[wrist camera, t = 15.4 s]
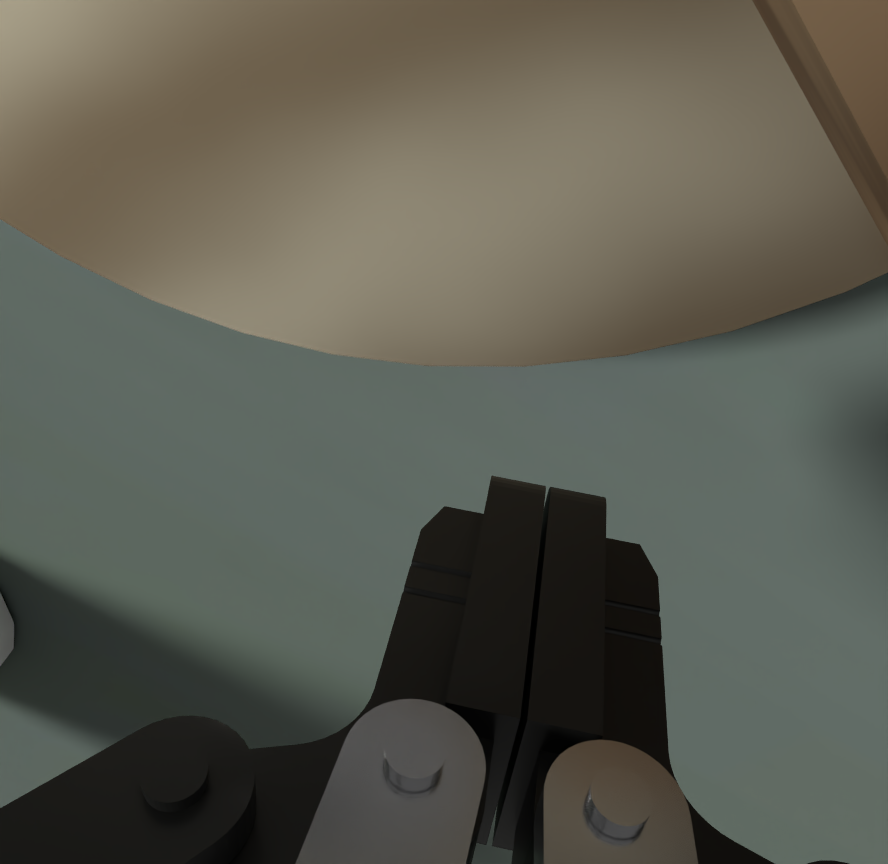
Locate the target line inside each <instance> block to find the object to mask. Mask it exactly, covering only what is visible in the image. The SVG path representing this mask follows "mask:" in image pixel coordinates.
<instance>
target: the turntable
mask: <svg viewBox="0 0 888 864" xmlns="http://www.w3.org/2000/svg"><path fill="white" fill-rule="evenodd" d="M0 219H1V220H3V221H4V222H6V223H7V224H9V225H11V226H12V227H14V228H16V229H17V230H19V231H21V232H22V233H24V234H25V235H27V236H29V237H30V238H32V239H34V240H35V241H37V242H38V243H40V244H42V245H43V246H45V247H47V248H48V249H50V250H52V251H53V252H55V253H56V254H58V255H60V256H61V257H64V258H66V259H68V260H70V261H72V262H74V263H76V264H78V265H80V266H82V267H84V268H86V269H88V270H90V271H92V272H94V273H97V274H99V275H101V276H103V277H105V278H107V279H109V280H111V281H113V282H115V283H117V284H119V285H121V286H123V287H125V288H128V289H130V290H132V291H134V292H136V293H138V294H140V295H142V296H144V297H146V298H148V299H150V300H153V301H156V302H158V303H161V304H164V305H167V306H169V307H172V308H175V309H178V310H181V311H183V312H186V313H189V314H192V315H194V316H197V317H200V318H203V319H205V320H208V321H211V322H214V323H217V324H219V325H222V326H225V327H228V328H230V329H233V330H236V331H239V332H242V333H246V334H250V335H254V336H258V337H262V338H267V339H271V340H275V341H279V342H283V343H287V344H292V345H296V346H300V347H304V348H308V349H312V350H317V351H321V352H325V353H329V354H333V355H342V356H350V357H358V358H366V359H374V360H383V361H391V362H399V363H407V364H415V365H424V366H533V365H542V364H551V363H560V362H569V361H578V360H587V359H596V358H605V357H614V356H623V355H629V354H633V353H638V352H642V351H646V350H651V349H655V348H660V347H664V346H668V345H673V344H677V343H682V342H686V341H690V340H695V339H699V338H704V337H708V336H713V335H717V334H721V333H726V332H730V331H734V330H737V329H740V328H742V327H745V326H748V325H751V324H754V323H757V322H760V321H763V320H766V319H769V318H771V317H774V316H777V315H780V314H783V313H786V312H789V311H792V310H795V309H798V308H800V307H803V306H806V305H809V304H812V303H815V302H818V301H821V300H824V299H827V298H830V297H832V296H835V295H838V294H841V293H844V292H847V291H849V290H851V289H853V288H855V287H857V286H860V285H862V284H864V283H866V282H868V281H870V280H872V279H875V278H877V277H879V276H881V275H883V274H885V273H888V0H0Z"/></svg>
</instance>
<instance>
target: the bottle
mask: <svg viewBox="0 0 888 864" xmlns="http://www.w3.org/2000/svg"><path fill="white" fill-rule="evenodd" d="M13 649H14V622H13V620H12V617H11V615H10V613H9V611H8V608H7V606H6V604H5V602H4V600H3V597H2V595H1V593H0V666H1V665H2V663H3V662H4V661H5V659H6V658H7V657H8V655H9V654H10V653H11V651H12V650H13Z"/></svg>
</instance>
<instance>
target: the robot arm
mask: <svg viewBox="0 0 888 864" xmlns="http://www.w3.org/2000/svg"><path fill="white" fill-rule="evenodd" d="M545 492H546V486H542V485H537V484H532V483H527V482H522V481H516V480H511V479H506V478H501V477H496V476H492V477H491V481H490V486H489V491H488V496H487V501H486V506H485V511H484V514H481V513H476V512H471V511H466V510H461V509H456V508H451V507H446V506H444V507H443V508H442V509H441V510H440V511H439V512H438V513H437V514H436V515H435V516H434V517H433V518H432V519H431V520H430V521H429V522H428V523H427V524H426V525H425V526H424V527H423V528H422V529H421V532H420V535H419V539H418V542H417V545H416V549H415V552H414V556H413V559H412V564H411V567H410V569H409V573H408V576H407V580H406V583H405V587H404V592H403V593H402V597H401V600H400V604H399V607H398V610H397V614H396V617H395V621H394V624H393V627H392V631H391V634H390V638H389V641H388V645H387V648H386V651H385V655H384V658H383V662H382V665H381V668H380V672H379V675H378V679H377V682H376V686H375V689H374V691H373V694H372V696H371V699H370V701H369V702H368V704H367V706H366V707H365V709H364V710H363V711H362V712H361V713H360V715H359V716H358V717H357V718H356V719H355V720H354V721H352V722H351V723H350V724H349V725H348V726H346V727H345V728H343V729H342V730H340V731H338V732H337V733H335V734H333V735H331V736H328V737H326V738H324V739H321V740H317V741H314V742H310V743H304V744H298V745H288V746H277V747H267V748H256V749H249V748H248V746H247V745H246V743H245V741H244V740H243V739H242V738H241V737H240V736H239V734H238V733H237V732H236V731H234V730H233V729H231V728H230V727H229V726H227V725H225V724H223V723H221V722H219V721H217V720H213V719H210V718H206V717H199V716H178V717H173V718H167V719H164V720H161V721H158V722H154V723H152V724H150V725H148V726H146V727H144V728H142V729H140V730H138V731H136V732H134V733H133V734H131V735H129V736H127V737H126V738H124V739H122V740H120V741H118V742H117V743H115V744H113V745H111V746H110V747H108V748H106V749H104V750H103V751H101V752H99V753H97V754H96V755H94V756H92V757H90V758H88V759H87V760H85V761H83V762H81V763H80V764H78V765H76V766H74V767H73V768H71V769H69V770H67V771H65V772H64V773H62V774H60V775H58V776H57V777H55V778H53V779H51V780H50V781H48V782H46V783H44V784H43V785H41V786H39V787H37V788H35V789H34V790H32V791H30V792H28V793H27V794H25V795H23V796H21V797H20V798H18V799H16V800H14V801H12V802H11V803H9V804H7V805H5V806H4V807H2V808H0V864H471V862H472V858H473V854H474V850H475V846H476V843H480V844H484V845H486V844H487V840H488V836H489V833H490V829H491V825H492V822H493V818H494V814H495V810H496V807H497V812H496V820H495V828H494V836H493V844H492V846H495V847H499V848H504V849H508V850H512V851H513V856H512V864H774V863H772V862H771V861H769V860H767V859H765V858H763V857H761V856H760V855H758V854H756V853H754V852H752V851H751V850H749V849H747V848H745V847H743V846H741V845H740V844H738V843H736V842H734V841H733V840H731V839H729V838H728V837H726V836H725V835H723V834H721V833H720V832H719V831H718V830H716V829H715V828H714V827H712V826H711V825H710V824H709V823H708V822H707V821H706V820H705V819H704V818H702V817H701V816H700V815H699V814H698V813H697V811H696V810H695V809H694V808H693V807H692V805H691V804H690V803H689V802H688V800H687V799H686V797H685V796H684V794H683V792H682V791H681V789H680V787H679V785H678V783H677V781H676V779H675V777H674V774H673V771H672V768H671V764H670V759H669V752H668V736H667V720H666V703H665V686H664V670H663V653H662V645H661V639H662V636H661V620H660V617H659V612H660V603H659V586H658V576H657V574H656V572H655V571H654V569H653V567H652V565H651V564H650V562H649V560H648V558H647V557H646V555H645V553H644V551H643V549H642V548H641V546H640V544H635V543H629V542H624V541H619V540H614V539H609V538H606V498H605V497H600V496H595V495H590V494H585V493H580V492H575V491H569V490H564V489H559V488H554V487H550V488H549V491H548V494H547V498H546V502H545V506H544V501H545ZM543 510H544V511H543ZM497 803H498V804H497ZM808 864H848V863H844V862H838V861H816V862H811V863H808Z"/></svg>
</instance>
